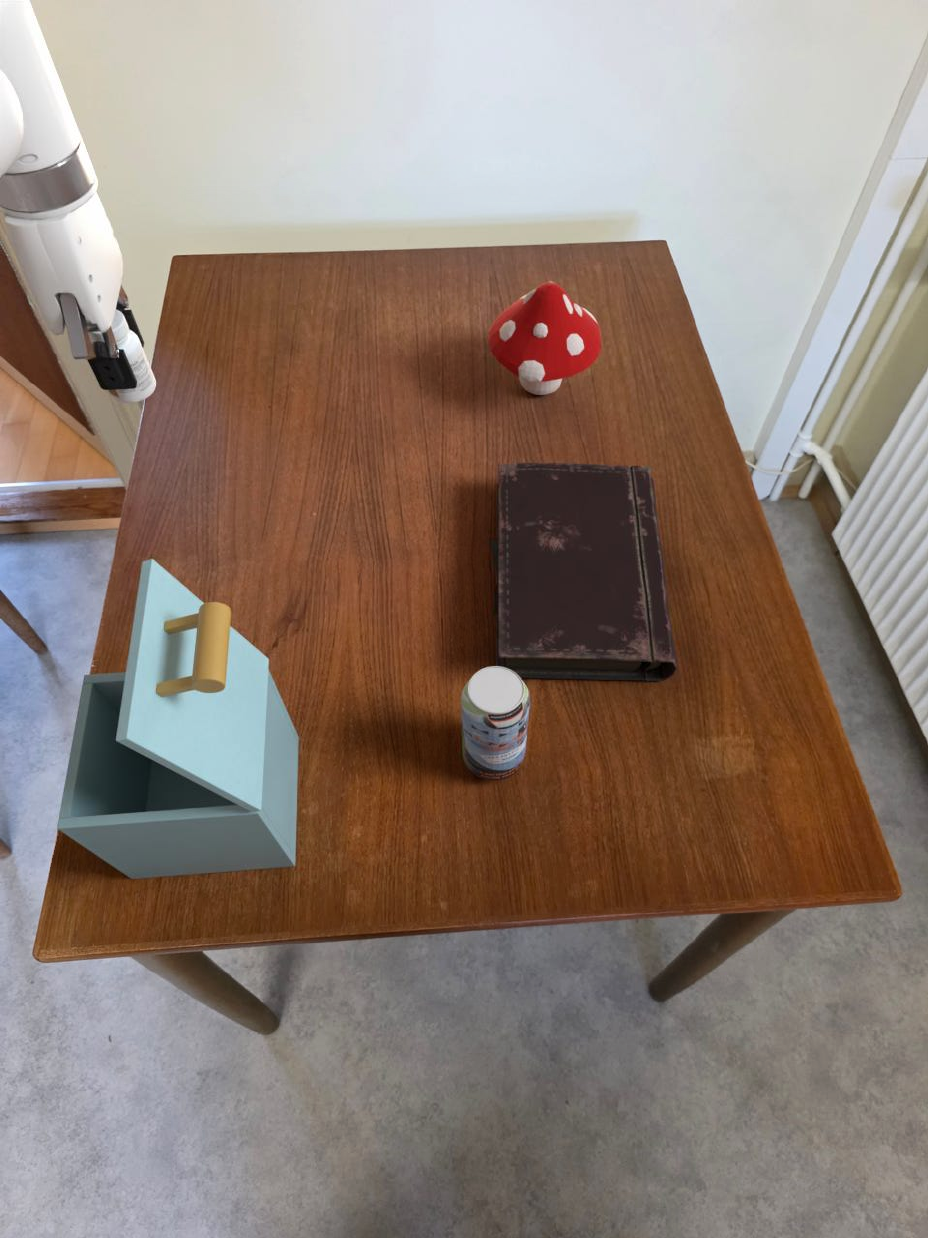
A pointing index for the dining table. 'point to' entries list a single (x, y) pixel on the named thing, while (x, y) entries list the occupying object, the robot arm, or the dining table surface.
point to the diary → (580, 573)
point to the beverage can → (494, 723)
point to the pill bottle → (130, 361)
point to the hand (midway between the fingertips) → (123, 365)
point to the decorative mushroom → (545, 338)
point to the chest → (173, 799)
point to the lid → (194, 691)
